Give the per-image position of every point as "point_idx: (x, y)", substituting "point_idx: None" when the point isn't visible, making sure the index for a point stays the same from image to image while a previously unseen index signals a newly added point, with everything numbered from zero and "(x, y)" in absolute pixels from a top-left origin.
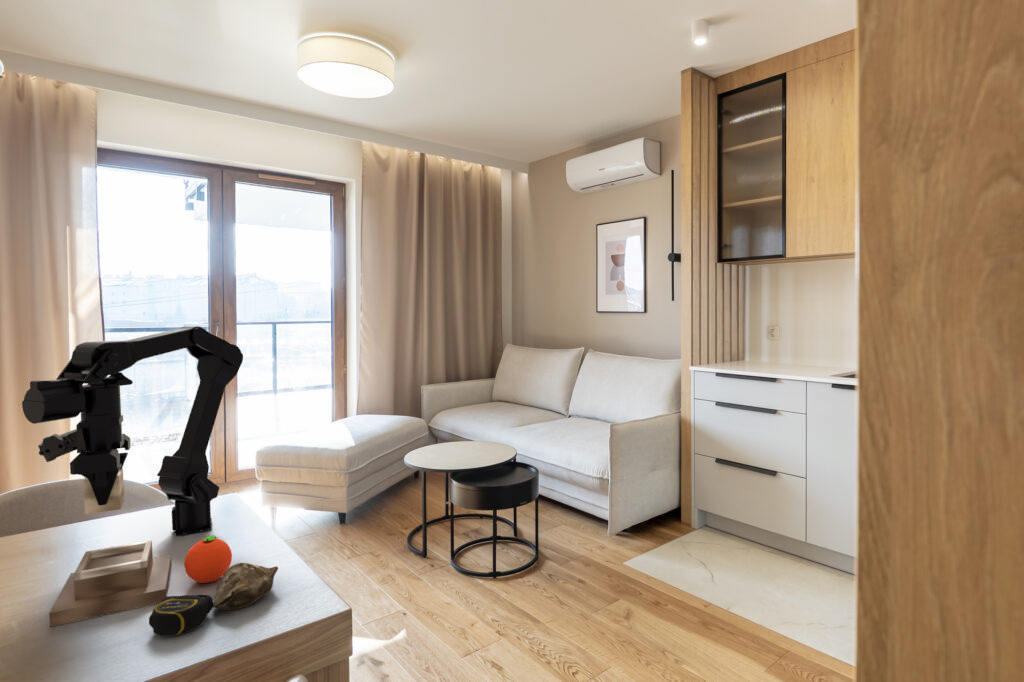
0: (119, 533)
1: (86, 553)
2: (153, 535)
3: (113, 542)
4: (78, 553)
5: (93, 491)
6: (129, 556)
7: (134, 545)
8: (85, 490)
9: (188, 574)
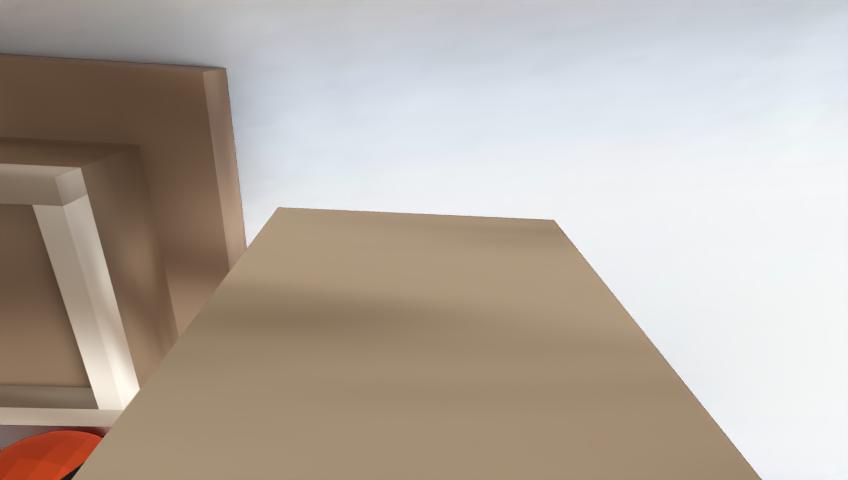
0: (771, 195)
1: (16, 185)
2: (628, 311)
3: (664, 181)
4: (629, 48)
5: (78, 466)
6: (35, 339)
7: (88, 371)
8: (165, 381)
9: (11, 445)
